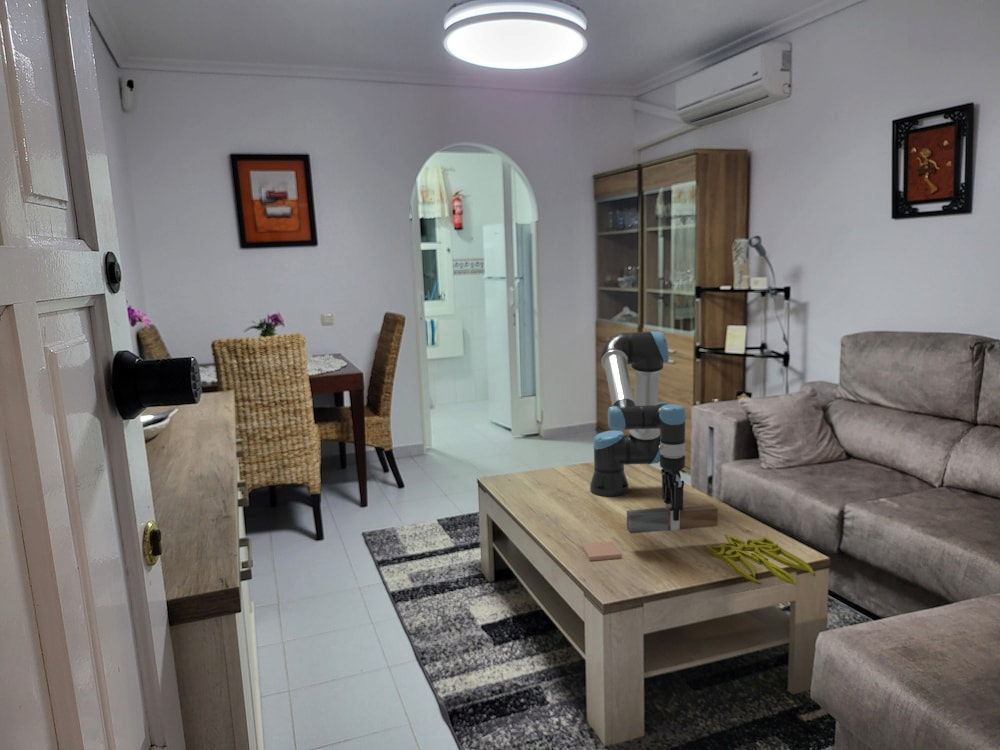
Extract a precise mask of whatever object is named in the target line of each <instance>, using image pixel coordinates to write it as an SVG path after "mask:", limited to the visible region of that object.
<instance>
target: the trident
mask: <svg viewBox="0 0 1000 750" xmlns="http://www.w3.org/2000/svg"><path fill="white" fill-rule="evenodd" d="M724 538H725V539H726V541H727V542H728V543H727V542H721V543H720V544H719V545H708V544H706V545H705V549H706V551H708V552H709V553H710V554H712V555H713V556H714V558H716V557H717V558H718V559H719V560H721V561H722V562H724V563H726V564H727V565H728V564H729V565H730V566H731V567H732V568H733V569H734V570H733V569H732V568H731V567H730V566H729V565H728V566H729V567H730V568H731V569H732V570H733V571H734V572H736V573H737V574H738V575H740V576H741V577H743V578H744V579H746V580H748V581H751V582H753V583H756V584H760V585H762V584H763V582H762V581H760V580H758V579H756V569H755V566H753V563H751V562H750V561H749V560H750V559H751V561H752V562H755V563H756V564H758V565H760V564H761V565H762V566H763V567H765V568H766V569H767V570H768V571H769V572H770V573H771V574H772V575H773V576H775V577H777V578H778V579H779V580H781V581H784V582H786V583H788V584H790V585H794V586H796V585H797V581H796V579H795V578H794V577H793V576H792V575H791V574H790V573H789V571H786V570H785V569H783V568H782V567H780V566H778V565H776V564H774V563H773V562H771V561H769V558H770V559H772V560H773V561H776V562H778V563H780V564H782V565H785V566H787V567H789V568H793V569H797V570H800V571H805V572H809V573H810V574H811V575H813V576H814V574H815V573H814V569H813V568H812V567H811V565H810V564H808V563H807V562H806V561H804V560H803V559H802V558H800V557H798V556H797V555H794V554H793V553H791V552H788V551H787V550H785V549H784V548H782V547H781V546H779V543H775V542H774V541H773V540H771V539H770V538H768V537H766V536H763V538H760V539H753V538H748V539H746V541H745V540H743V539H741V538H738V537H735V536H731V535H729V534H727V533H724ZM748 551H750V552H751V551H752V552H751V553H749V552H748ZM753 551H754V552H753ZM780 554H781V555H782V556H783V557H782V556H781V555H780ZM768 557H769V558H768ZM784 557H785V558H784ZM739 559H740V560H739ZM733 560H735V561H733ZM736 561H739V563H741V565H743V566H744V567H745V568H746V569H747V570H748V571H749V572H750V574H751V575H750V574H749V573H748V572H746V571H745V570H744V569H743V568H742V567H740V565H739V564H737V562H736Z"/></svg>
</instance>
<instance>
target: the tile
mask: <svg viewBox="0 0 1000 750" xmlns="http://www.w3.org/2000/svg"><path fill="white" fill-rule="evenodd" d="M581 549H582V550H583V552H584V554H585V556H586V557H587V559H588V560H589V562H591V561H604V560H612V559H613V560H615V559H622V552H621V551H620V550H619V548H618V547H617V546H616V544H615V543H614V542H613V541H612V540H611V541H601V542H599V541H598V542H588V543H581Z"/></svg>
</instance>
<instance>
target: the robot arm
mask: <svg viewBox="0 0 1000 750" xmlns="http://www.w3.org/2000/svg"><path fill="white" fill-rule="evenodd" d="M668 347H669V346H668V342H667V338H666V336H665V333H663V332H662V331H651V330H650V331H634V332H619V333H616V334H615V335H613V336H612V337H610V338H609V339H608V340H607V341H606V342H605V343H604V345H603V346H602V349H601V351H600V363H601V366H602V368H603V370H605V375H606V380H607V386H608V391H609V392H608V393H609V396H610V397H609V398H610V402H611V406H609V407H608V409H607V425H608V428H609V429H610V430H606V431H601V432H600V433H598V434H596V435H595V436H594V438H593V446H592V447H593V463H594V465H593V467H594V469H593V470H594V471H593V475H592V478H591V481H590V484H589V489H590V492H591V493H592V494H593V495H594V494H595V495H597V496H601V497H602V496H603V497H617V496H622V495H625V494H627V493H629V491H630V490H629V489H630V486H629V481H628V479H627V476H626V473H625V465H629V466H631V465H652V464H653V465H654V464H659V467H660V468H661V469H660V472H661V498H662V500H663V502H664V507H672V509H669V510H670V529H671V530H670V531H677V530H679V529H680V511H681V510H683V506H684V487H685V486H684V485H685V480H682V477H681V470H683V469H684V468H685V467H686V456H685V455H686V419H687V416H686V407H684V406H683V405H679V404H673V403H671V404H669V403H668V402H663V401H662V402H661V401H660V402H659V401H658V398H659V397H658V396H659V395H658V394H659V373H660V372H661V371H663V370H664V364H667V363H668V362H669V359H670V358H669V355H670V354H669V348H668ZM627 365H631V369H632V370H633V371H634V372H635V374H634V375H635V377H634V393H633V388H632V384H631V380H630V375H629V370H628V367H627ZM626 430H627V431H629V434H624V432H623V431H626ZM680 530H681V529H680Z"/></svg>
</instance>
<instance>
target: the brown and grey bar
mask: <svg viewBox="0 0 1000 750" xmlns="http://www.w3.org/2000/svg"><path fill="white" fill-rule="evenodd" d="M718 508H719V507H717V506H716V505H715V504H714V503H705V504H703V503H702V504H693V505H683V510H681V511H680V529H679V530H688V529H690V530H691V529H700V528H701V529H704V528H714V527H718V526H719V525H718V520H719V519H718V517H719V515H718V514H719V512H718V511H719V509H718ZM669 509H672V507H665V506H664V507H654V508H641V509H628V510H626V530H627V531H628V532H629V533H630V534H641V533H642V534H643V533H654V532H655V533H656V532H667V531H672V530H671V529H670V510H669Z"/></svg>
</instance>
